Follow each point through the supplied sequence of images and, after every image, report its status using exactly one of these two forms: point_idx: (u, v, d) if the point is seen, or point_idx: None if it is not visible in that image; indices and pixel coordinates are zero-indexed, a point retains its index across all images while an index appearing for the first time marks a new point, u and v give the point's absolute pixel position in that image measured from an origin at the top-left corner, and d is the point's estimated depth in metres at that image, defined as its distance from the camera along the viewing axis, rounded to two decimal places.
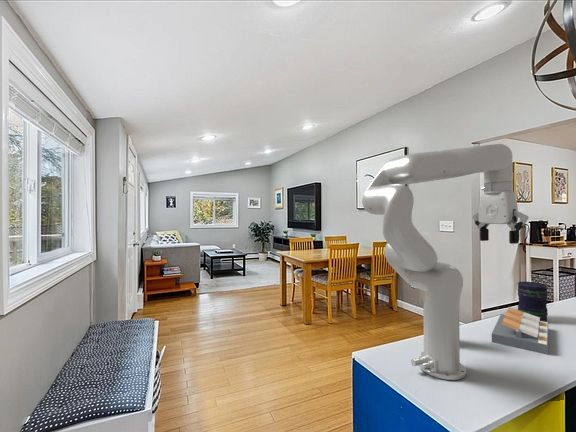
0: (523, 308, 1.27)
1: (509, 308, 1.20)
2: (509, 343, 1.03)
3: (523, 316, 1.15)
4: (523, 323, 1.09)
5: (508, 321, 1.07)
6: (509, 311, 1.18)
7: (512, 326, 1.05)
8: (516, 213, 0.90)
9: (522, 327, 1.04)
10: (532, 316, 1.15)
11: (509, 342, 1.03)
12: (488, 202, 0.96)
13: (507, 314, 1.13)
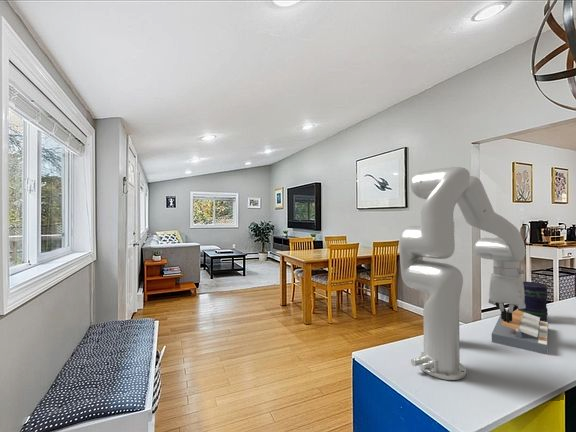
0: None
1: None
2: (509, 343, 1.03)
3: (523, 316, 1.15)
4: (523, 323, 1.09)
5: None
6: None
7: (512, 326, 1.05)
8: None
9: (522, 327, 1.04)
10: (532, 316, 1.15)
11: (509, 342, 1.03)
12: None
13: None
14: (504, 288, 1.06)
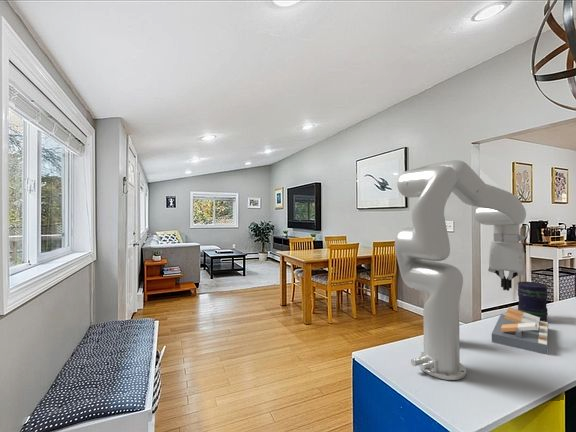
0: (523, 308, 1.27)
1: (509, 308, 1.20)
2: (509, 343, 1.03)
3: (523, 316, 1.15)
4: None
5: (506, 326, 1.07)
6: (509, 311, 1.18)
7: (511, 329, 1.05)
8: None
9: (520, 326, 1.04)
10: (532, 316, 1.15)
11: (509, 342, 1.03)
12: None
13: (507, 314, 1.13)
14: (504, 254, 1.05)
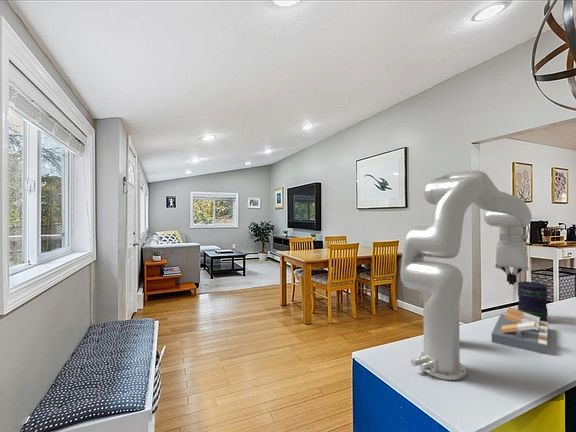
0: (523, 308, 1.27)
1: (509, 308, 1.20)
2: (509, 343, 1.03)
3: (523, 316, 1.15)
4: None
5: (506, 326, 1.07)
6: (509, 311, 1.18)
7: (511, 329, 1.05)
8: None
9: (519, 325, 1.04)
10: (532, 316, 1.15)
11: (509, 342, 1.03)
12: None
13: (507, 314, 1.13)
14: (509, 252, 1.18)
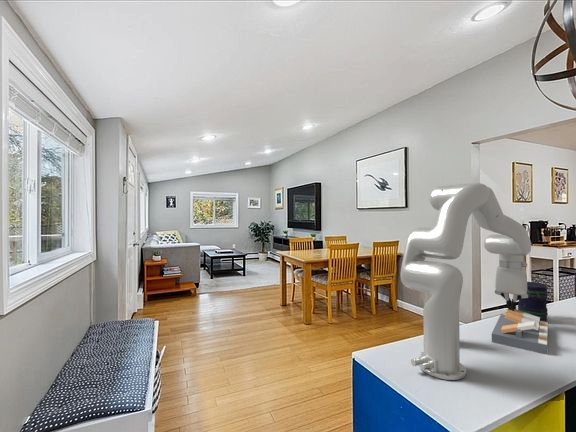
0: (523, 308, 1.27)
1: None
2: (509, 343, 1.03)
3: (523, 316, 1.15)
4: None
5: (506, 327, 1.07)
6: (509, 311, 1.18)
7: (511, 329, 1.05)
8: None
9: (519, 325, 1.04)
10: (532, 316, 1.15)
11: (509, 342, 1.03)
12: None
13: (507, 314, 1.13)
14: (509, 279, 1.18)
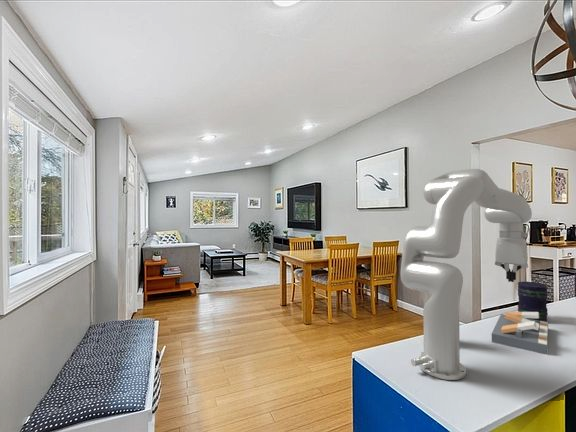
0: (523, 308, 1.27)
1: None
2: (509, 343, 1.03)
3: (522, 316, 1.15)
4: None
5: (506, 327, 1.07)
6: None
7: (511, 329, 1.05)
8: None
9: (519, 325, 1.04)
10: (530, 313, 1.16)
11: (509, 342, 1.03)
12: None
13: (507, 314, 1.13)
14: (509, 249, 1.17)
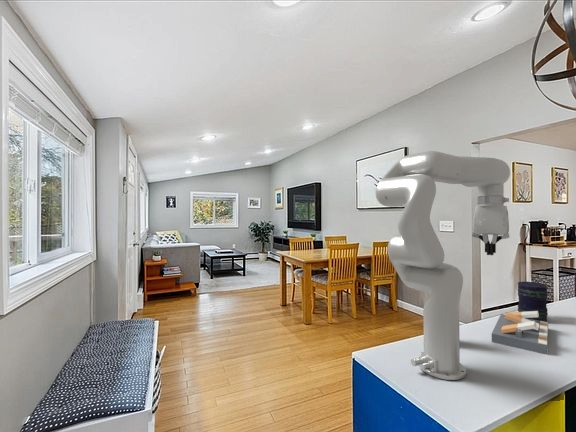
0: (523, 308, 1.27)
1: None
2: (509, 343, 1.03)
3: (522, 316, 1.15)
4: None
5: (506, 327, 1.07)
6: None
7: (511, 329, 1.05)
8: None
9: (519, 325, 1.04)
10: (530, 312, 1.16)
11: (509, 342, 1.03)
12: None
13: (507, 314, 1.13)
14: (487, 218, 1.02)
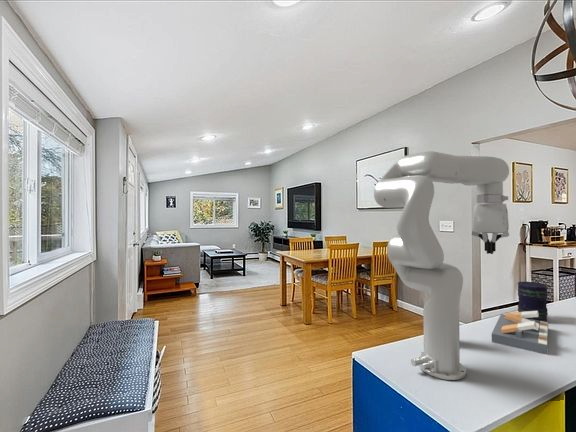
0: (523, 308, 1.27)
1: None
2: (509, 343, 1.03)
3: (522, 316, 1.15)
4: None
5: (506, 327, 1.07)
6: None
7: (511, 329, 1.05)
8: None
9: (519, 325, 1.04)
10: (530, 312, 1.16)
11: (509, 342, 1.03)
12: None
13: (507, 314, 1.13)
14: (487, 216, 1.01)
